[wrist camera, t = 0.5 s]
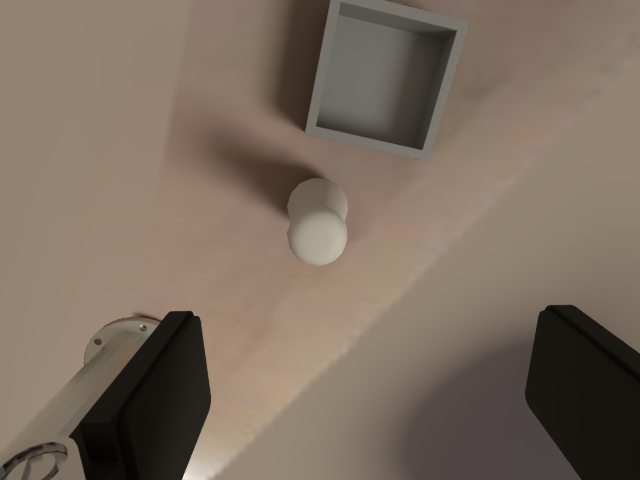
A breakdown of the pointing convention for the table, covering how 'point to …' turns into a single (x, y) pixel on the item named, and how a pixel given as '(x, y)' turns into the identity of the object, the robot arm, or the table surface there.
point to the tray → (384, 76)
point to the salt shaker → (317, 221)
